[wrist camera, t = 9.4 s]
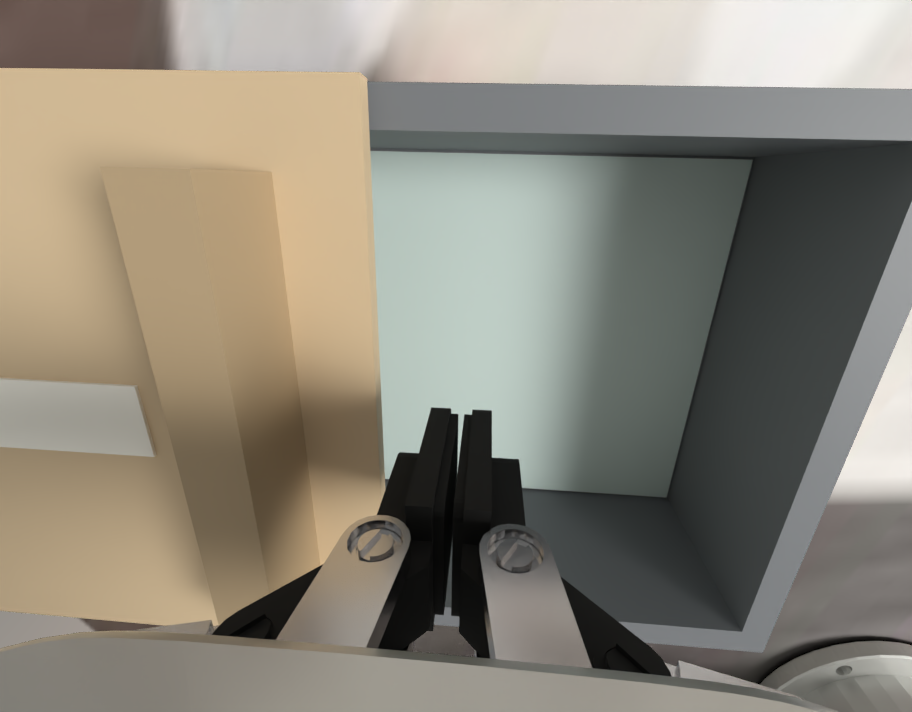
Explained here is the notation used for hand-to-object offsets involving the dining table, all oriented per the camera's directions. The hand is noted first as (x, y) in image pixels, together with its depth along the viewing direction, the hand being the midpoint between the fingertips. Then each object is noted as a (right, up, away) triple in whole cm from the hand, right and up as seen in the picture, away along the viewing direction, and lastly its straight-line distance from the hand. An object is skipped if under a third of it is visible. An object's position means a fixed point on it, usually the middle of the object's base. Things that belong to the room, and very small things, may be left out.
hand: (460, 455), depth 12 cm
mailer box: (0, +4, +9) cm, 10 cm away
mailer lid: (-14, +1, +2) cm, 15 cm away
